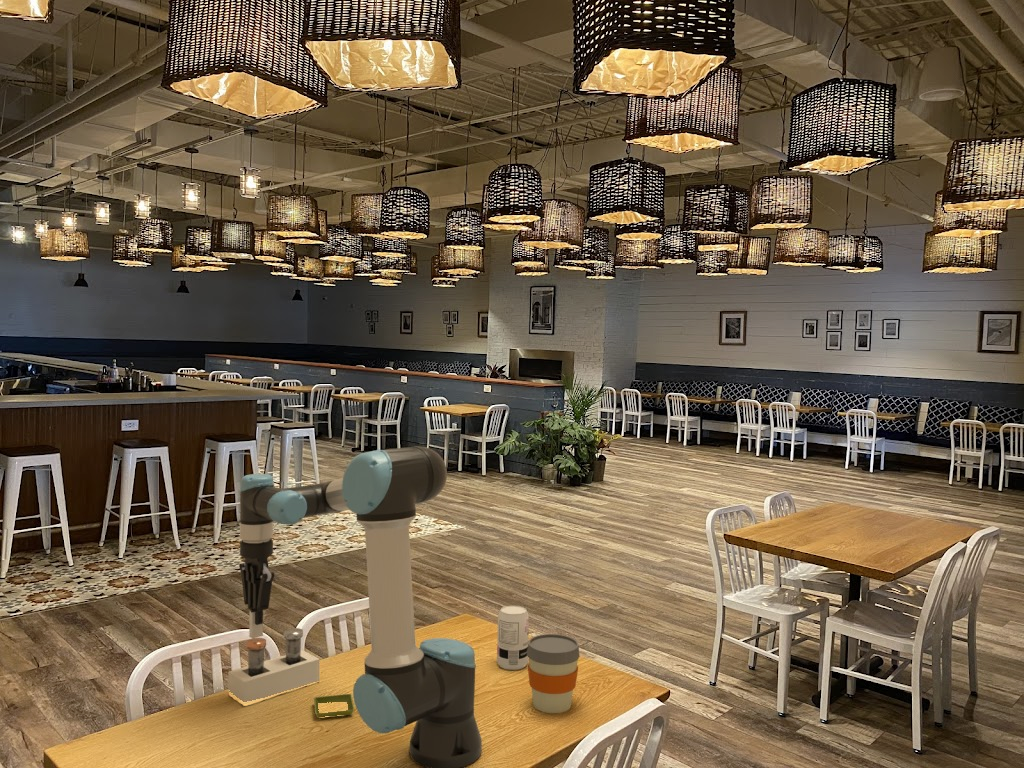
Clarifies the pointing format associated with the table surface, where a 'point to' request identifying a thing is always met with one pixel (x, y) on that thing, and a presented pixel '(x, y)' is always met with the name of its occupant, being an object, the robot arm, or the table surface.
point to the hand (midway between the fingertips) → (256, 636)
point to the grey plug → (293, 645)
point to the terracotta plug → (255, 656)
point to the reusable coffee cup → (552, 671)
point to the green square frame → (334, 698)
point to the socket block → (273, 677)
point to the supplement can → (512, 637)
